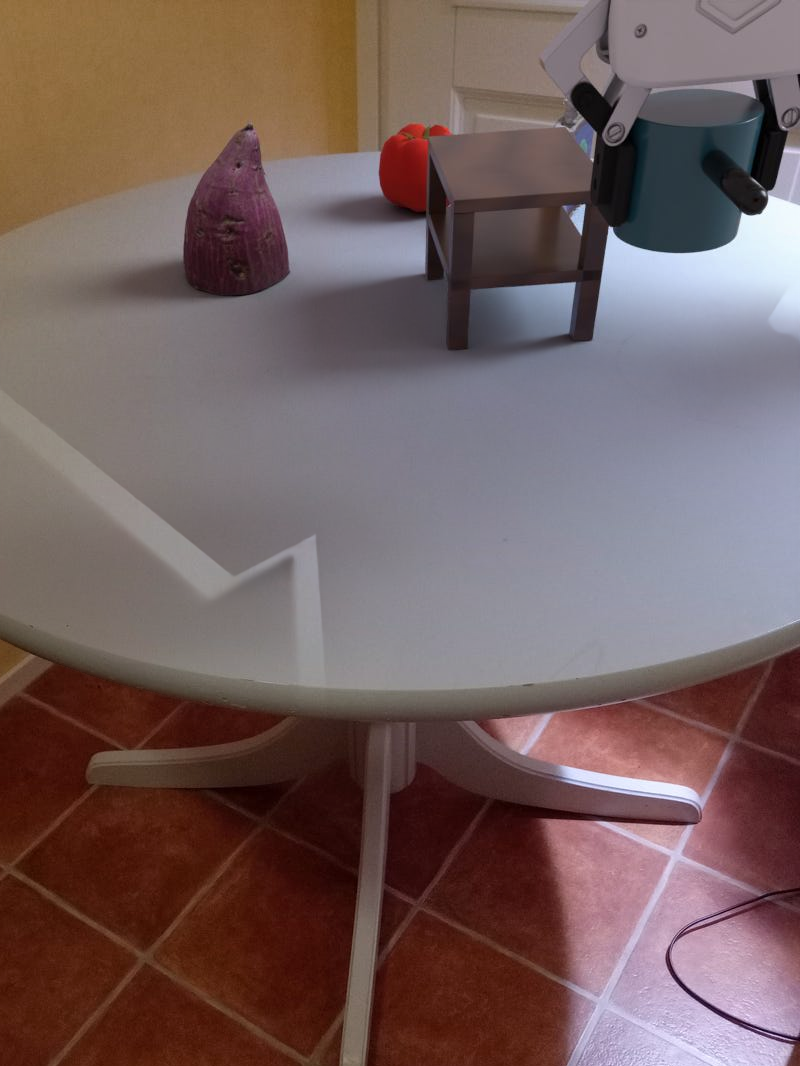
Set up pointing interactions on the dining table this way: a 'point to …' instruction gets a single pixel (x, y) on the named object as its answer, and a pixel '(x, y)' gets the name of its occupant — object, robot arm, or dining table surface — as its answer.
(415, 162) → the red capsicum
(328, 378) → the dining table surface
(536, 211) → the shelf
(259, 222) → the vegetable
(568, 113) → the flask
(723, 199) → the saucepan
